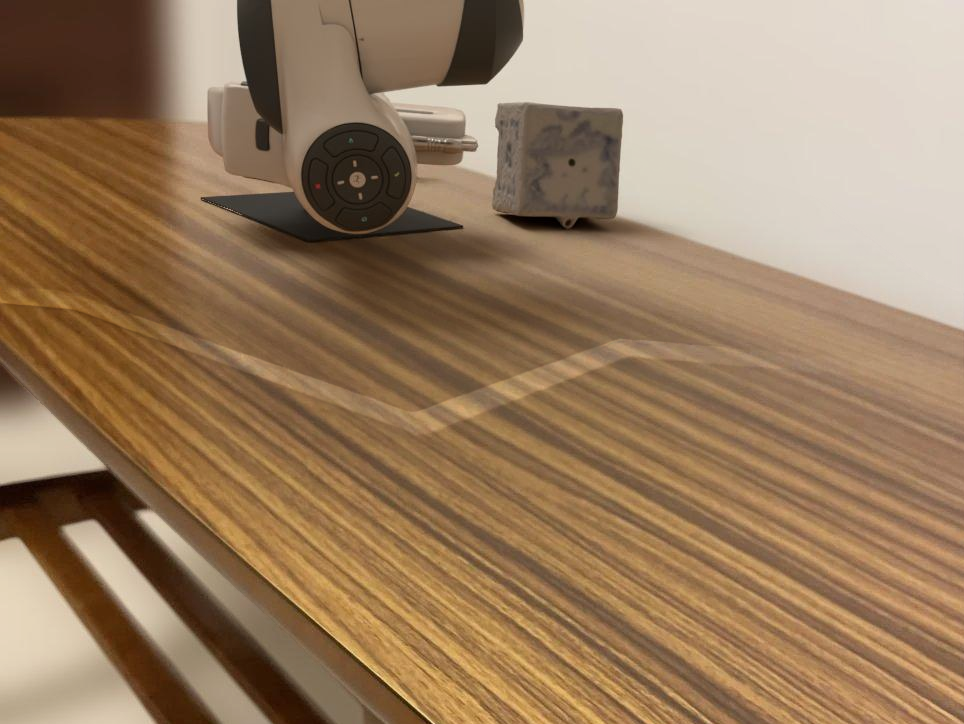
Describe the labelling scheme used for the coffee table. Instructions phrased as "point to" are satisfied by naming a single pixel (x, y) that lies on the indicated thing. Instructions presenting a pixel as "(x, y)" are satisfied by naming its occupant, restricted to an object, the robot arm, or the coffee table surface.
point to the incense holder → (557, 161)
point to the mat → (297, 222)
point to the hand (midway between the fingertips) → (334, 112)
